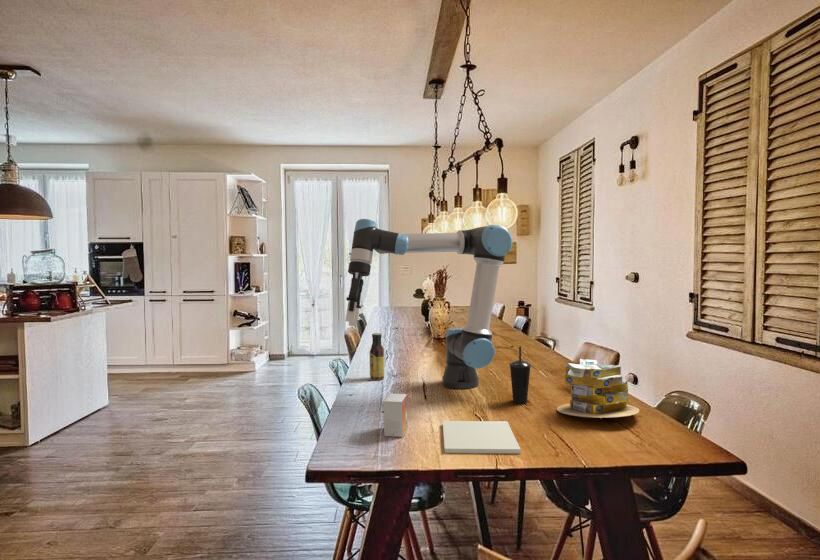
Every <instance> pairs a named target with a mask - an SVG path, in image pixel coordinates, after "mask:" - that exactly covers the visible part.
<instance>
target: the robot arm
mask: <svg viewBox="0 0 820 560" xmlns="http://www.w3.org/2000/svg"><path fill="white" fill-rule="evenodd" d="M377 225H378V224H377V222H376V221H374V220H372V219H368V218H360V219H358V220H357V221H356V222H355V226H354V230H353V237H352V244H351V250H350V251H351V252H349V253H348V255H349V256H350V257H349V261H350V262H349V263H348V269H347V272H348V274H349V275H352V278H351V280H350V281H351V283H350V289H349V294H348V296H347V297H346V301H348V302H347V308H346V315H345V322H348V326H350V327H358V319H359V312H360V310H361V309H362V306H361V296H362V292H363V287H364V279H363V277H369V276H370V274H371V267H372V266H371V264H372V262H373V253H374V251H375V252H376V253H377V254H380V255H381V254H384V255H385V254H393V255H397V256H398V255H399V256H404V255H405V254H407V253H408V254H415V253H418V254H419V253H420V254H421V253H457V254H458V255H470V256H471V255H472V256H473V260H474V261H475V263H476V265H475V271H474V272H475V273H474V279H473V285H472V292H471V297H470V302H469V303H470V304H469V309H468V315H467V323H466V325H465V326H464V327H459V328H457V327H456V328H449V329H447V330H446V332H445V333H446V334H445V346H446V347H445V354H446V355H445V357H446V358H445V360H446V361H445V363H446V364H445V368H444V372H443V376H442V378H441V384H442V386H444V387H447V388H452V389H457V390H459V389H460V390H462V389H463V390H464V389H471V388H472V389H473V388H476V387H478V386H479V385H480V377H479V376H478V372H477V369H483V368H486V367H487V366H488V365H490V364H491V363H492V361H493V360H494V358H495V355H496V350H495V348H496V347H495V346H494V344H493V342H492V340H493V332H492V331H491V329H490V327H491V326H490V325H491V321H492V313H493V308H494V303H495V297H496V296H495V295H496V288H497V282H498V275H499V271H500V267H501V266H502V265H503V264H504V263H505V259H506V255H507V254H508V253H509V252H510V251H511V249H512V247H513V236H512V234H511V232H510V231H509V230H508V229H507V228H506V227H505V226H503V225H499V224H489V225H485V226H480V227H476V228H472V229H465V230H461V229H460V230H457V231H456V232H435V233H432V232H430V233H426V232H425V233H424V232H423V233H419V232H418V233H401V232H395V231H390V230H384V229H381V228H378V226H377Z"/></svg>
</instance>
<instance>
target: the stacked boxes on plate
mask: <svg viewBox="0 0 820 560" xmlns="http://www.w3.org/2000/svg"><path fill="white" fill-rule="evenodd" d="M621 369H622V368H621V365H619V364H617V365H614V364H605V363H603V362H602V363H598V364H594V363H593V364H587V365H580V363H579V364H578V363H571V362H568V363H567V364H566V366H565V369H564V370H565V374H564V381H565V382H564V383H565V384H569V387H570V396H571V397H570V399H569V400H570V401H569V403H565V404H562V405H559V406H557V408H556V410H557V411H558V412H559V413H561V414H564V415H568V416H574V417H580V418H581V417H582V418H596V419H597V418H600V421H601V422H602V421H603V418H621V417H630V416H633V415H636V414H638V413H640V409H639V408H638V407H636V406H633V405H631V404H630V402H629V400H630V399H629V387H628V386H629V385H628V382H629V381H630V380H628V379H629V378H626V379H627V381H623V376H622V374H621V373H622V370H621ZM629 404H630V405H629Z"/></svg>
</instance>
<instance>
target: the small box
mask: <svg viewBox="0 0 820 560" xmlns="http://www.w3.org/2000/svg"><path fill="white" fill-rule="evenodd" d="M408 419H409V417H408V394H407V393H389V394H388V396H387V397H386V399H384V401H383V427H384V429H383V431H384V434H383V435H384V437H396V438H397V437H398V438H403V437H404V435H405V433H406V431H407V429H408V428H409V426H408V425H409V424H408Z"/></svg>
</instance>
